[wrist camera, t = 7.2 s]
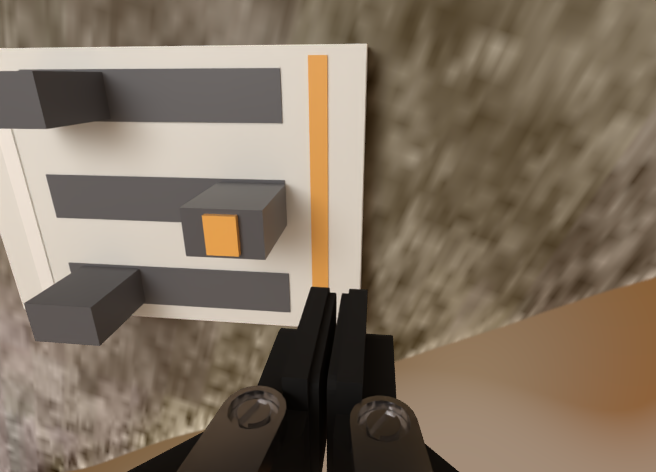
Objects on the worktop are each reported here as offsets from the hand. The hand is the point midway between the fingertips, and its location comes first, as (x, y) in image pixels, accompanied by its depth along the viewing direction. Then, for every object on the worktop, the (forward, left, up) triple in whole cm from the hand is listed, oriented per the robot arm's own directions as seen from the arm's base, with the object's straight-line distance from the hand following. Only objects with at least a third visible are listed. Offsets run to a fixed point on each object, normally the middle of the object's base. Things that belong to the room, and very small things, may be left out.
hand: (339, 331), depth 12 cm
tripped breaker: (+6, 0, -12) cm, 14 cm away
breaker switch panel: (+12, 0, -15) cm, 19 cm away
